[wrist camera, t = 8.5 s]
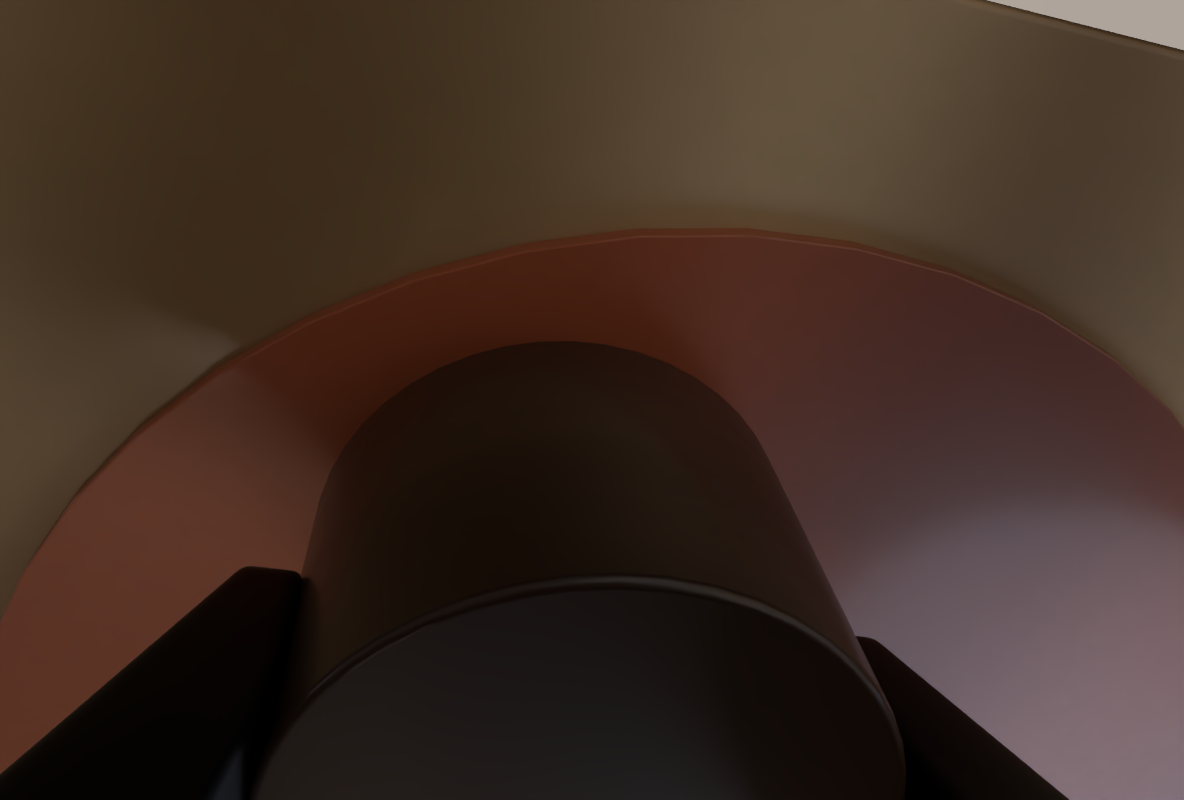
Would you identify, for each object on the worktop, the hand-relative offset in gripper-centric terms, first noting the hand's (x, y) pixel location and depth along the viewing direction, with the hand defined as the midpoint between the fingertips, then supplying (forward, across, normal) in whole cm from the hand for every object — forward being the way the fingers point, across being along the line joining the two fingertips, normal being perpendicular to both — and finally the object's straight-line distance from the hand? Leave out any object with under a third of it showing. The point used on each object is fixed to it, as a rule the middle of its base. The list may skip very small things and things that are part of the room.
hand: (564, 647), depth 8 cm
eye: (+1, 0, 0) cm, 1 cm away
